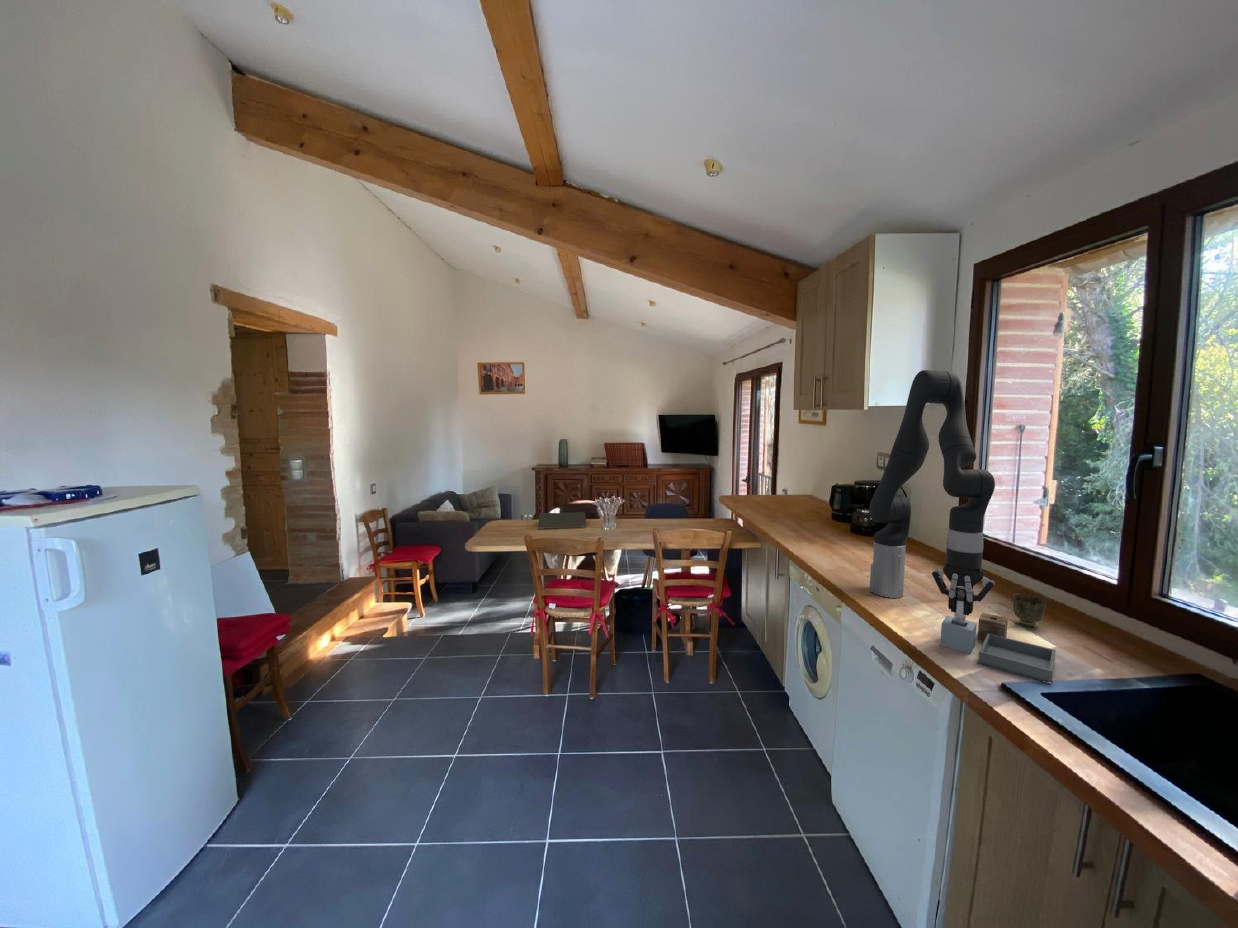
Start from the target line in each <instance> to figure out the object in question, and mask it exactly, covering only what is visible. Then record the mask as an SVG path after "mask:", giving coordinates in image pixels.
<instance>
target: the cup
mask: <svg viewBox="0 0 1238 928" xmlns="http://www.w3.org/2000/svg"><path fill="white" fill-rule="evenodd" d="M1047 603H1048V601H1047V600H1046V599H1043V598H1042V597H1041V598H1040V597H1039V596H1038V595H1032V594H1028V596H1025V595H1023V593H1018V592H1017V593H1016V594H1015V593H1013V594H1012V608H1013V613H1014V615H1015V616H1016V617H1017V618H1018V621H1019V623H1020V625H1022V626H1024V627H1027V628H1035V627H1036V626H1037V623H1038V622H1040V621H1041V620H1042V619H1043V618H1044V616H1045V612H1046V608H1047Z"/></svg>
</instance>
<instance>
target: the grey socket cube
mask: <svg viewBox="0 0 1238 928" xmlns="http://www.w3.org/2000/svg"><path fill="white" fill-rule="evenodd" d="M977 625H978V623H977V622H976V621H971V620H969V619H968V620H967V619H966V620H965V627H963V626H959V625H955V624H954V616H949V615H946V616H945V618H944V619H943V621H942V622H941V625H940V626H941V629H940V643H939V645H940V646H941V647H944V648H949V649H950V650H951V649H952V650H954V651H955V650H956V651H959V652H962V653H966V654H970V655H971V654H972V652H973V650H974V648H975V646H976V641H977V640H976V637H977Z"/></svg>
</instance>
